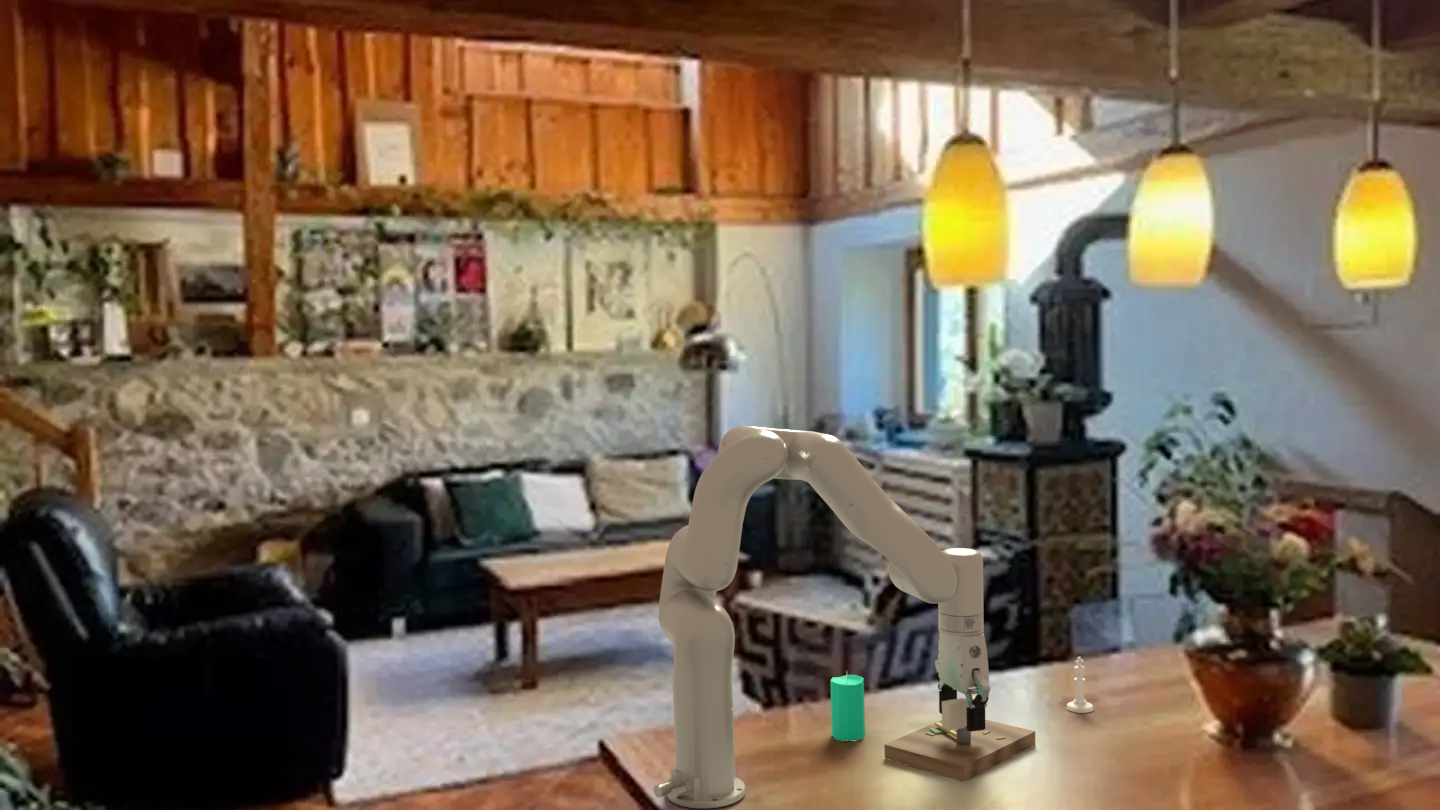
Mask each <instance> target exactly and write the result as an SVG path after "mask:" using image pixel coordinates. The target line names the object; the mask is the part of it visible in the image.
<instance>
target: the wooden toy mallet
mask: <svg viewBox="0 0 1440 810" xmlns="http://www.w3.org/2000/svg"><path fill="white" fill-rule="evenodd" d="M975 697H976V695H972V698H973V700H974V698H975ZM966 707H969V705H968V702H967V699H966V697H961V698H957V699H953V700H947V701H942V714H941V720H942V724H941V723H939V722H938V721H935V722H936V723H935V722H934V723H935V726H937V727H939V728H941V729H942V730H944V731H946V732H948V733H949V734H951V735H953V736H955V737H957V743H959V744H969V743H971V732H969V731H968V730H967V708H966ZM955 729H956V732H955V731H954V730H955Z"/></svg>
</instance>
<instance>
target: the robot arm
mask: <svg viewBox="0 0 1440 810" xmlns="http://www.w3.org/2000/svg"><path fill="white" fill-rule="evenodd" d="M718 444H719V445H718V453H717V455H716V456H715V457H714V458H712V460H711V461H710V462H709V464H708V465H706V467H705V468H704V470H703V471H702V472H701V475H700V476H699V479H698V481H697V483H696V487H695V490H694V494H693V499H692V505H691V510H690V513H689V514H690V515H689V520H688V525H684V526H683V527H681V528H680V529H679V530H678V531H677V532H676V533H675V534H674V535H673V536H672V538H671V540H670V542H669V544H668V547H667V550H666V553H665V558H664V559H665V560H664V566H663V573H662V580H661V588H660V594H659V603H658V604H659V605H658V615H657V617H658V623H659V627H660V629H661V631H662V633H663V635H664V636H665V637H666V638H667V639H668V641H669V642H670V643H671V644H672V645H673V648H674V649H673V651H674V653H673V654H674V656H673V669H672V701H673V728H674V756H675V759H674V760H675V769H673V770H671V771H670V778H668V780H667V781H666V782H665V781H664V782H661V783H658V784H656V785H654V786H653V793H654V796H655V797H656V798H657V799H659V798H663V797H665V796H666V797H667V799H668V800H669V801H670V802H672V803H673V804H676V805H678V806H680V807H684V808H689V809H700V810H702V809H716V808H721V807H726V806H727V807H728V806H730V805H732V804H735V803H738V801H741V800H742V799H743V798H744V796H745V795H746V784H745V782H744V780H742V779H740V778H738V777H736V760H735V759H736V757H735V756H736V755H735V730H734V729H735V724H734V696H733V695H734V694H733V692H734V691H733V663H734V653H735V642H736V638H735V637H736V635H735V628H734V624H733V621H732V619H731V616H730V615H729V613H728V612H727V611H726V609H725V608H724V607H722V605H720V604H719V603H718V602H717V601H716V598H717V597H716V596H717V592H718V591H721V590H724V589H725V588H726V587H728V586H730V584H731V583H732V581H733V580H734V578H735V575H736V573H737V569H738V564H739V556H740V555H739V554H740V548H741V539H742V532H743V523H744V519H745V516H746V509H747V506H748V503H749V501H750V499H751V497H752V495H753V494H754V493H755V492H756V491H757V489H758V488H760V487H761V486H763V485H764V484H765V483H767V482H770V481H771V480H773V479H774V480H775V479H779V480H795V481H797V480H798V481H804V482H806V483H808V484H809V485H810V486H811V487H812V489H814V491H815V492H816V493H817V494H818V495H819V496H820V497H821V499H822V500H823V501H824V502H825V503H826V504H827V506H828V507H829V508H830V509H831V510H832V511H833V513H834V514H835V515H836V516H837V519H839V520H840V522H842V524H843V525H844V527H846V529H848V530H849V531H850V533H852V534H853V535H854V536H856V538H858V539H859V540H861V541H862V542H864V543H865V544H867V545H868V546H870V547H872V548H873V549H874V550H876V551H877V552H879V554H881V555H882V556H883V557H885V558H886V560H888V561H889V565H888V576H889V579H890V582H892V584H893V585H894V586H895V587H896V588H897V589H899V590H900V591H902V592H904V593H905V594H908V595H910V596H913V597H915V598H917V599H919V600H921V601H924V602H925V603H928V604H937V605H938V606H937V607H938V608H937V609H938V610H937V611H938V613H937V615H938V617H937V618H938V631H939V634H938V635H939V637H938V649H937V650H938V651H937V659H935V660H934V666H935V670H936V675H935V676H936V678H937V682H938V684H937V689H938V708H939V709H938V710H939V713H940V715H942V701H947V700H953V699H958V692H959V693H961V694H964V695H965V698H966V699H967V702H968V705H969V707H966V708H967V730H968V731H969V732H972V731H980V730H984V729H985V720H986V708H987V707H988V706H987V705H988V703H987V702H989V695H990V691H991V685H990V680H989V679H990V676H989V675H990V674H989V673H990V671H989V660H988V659H989V658H988V649H987V644H986V643H987V642H986V637H985V634H984V631H985V630H984V621H985V620H984V613H985V611H984V610H985V609H984V560H983V558H984V557H983V556H982V553H980V551H978V550H977V549H976V550H975V549H972V548H968V547H967V548H966V547H965V548H964V547H952V548H946V549H944V550H941V549H940V547H939V546H938V545H937V543H935V541H934V539H932V538H931V537H930V536H929V534H927V533H926V531H925V530H924V529H923V528H921V527H920V526H919V525H918V523H917V522H915V521H914V520H913V519H912V518H911V517H910V516H909V515H908V514H906V512H905V511H904V510H903V509H902V508H901V507H900V506H899V505H898V504H897V503H895V502H894V501H893V499H892V498H890V497H889V496H888V494H887V493H886V492H885V491H884V490H883V488H881V486H880V485H879V484H878V482H877V481H875V479H874V478H873V477H872V476H871V474H870V473H869V472H868V470H866V468H865V467H864V466H863V465H862V464H861V462H860V461H859V460H858V458H856V456H855V455H854V454H853V453H852V451H851V450H850V449H849V448H848V447H847V445H845V443H844V442H843V441H841V440H840V439H839V438H837V437H836V436H834V435H831V434H829V433H828V434H827V433H822V432H817V431H810V430H794V429H792V430H791V429H781V428H780V429H779V428H773V427H772V428H771V427H760V426H752V425H739V426H736V427H734V428H731V429H729V430H727V432H726V433H724V434H723V436H722V438H721V439H720V442H719V443H718ZM973 695H975V696H976V697H975V698H974V700H973V698H972V696H973Z"/></svg>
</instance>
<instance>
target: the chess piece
mask: <svg viewBox="0 0 1440 810" xmlns="http://www.w3.org/2000/svg"><path fill="white" fill-rule="evenodd" d="M1084 661H1085V660H1084V659H1082V656H1077V660H1074V663H1075V664H1077V665H1075V666H1073V669H1074V672H1075V673H1074V674H1075V676H1076V677H1074V678H1073V681H1074V682H1076V690H1075V697H1074V699H1073V701H1069V702H1067V704H1066V710H1067V711H1069V712H1072V713H1078V714H1088V713H1091V712H1093V711H1094V705H1093V704H1092V703H1090V702H1088V701H1087V700H1086V699H1085V695H1084V687H1083V683H1084V682H1086V679H1085V678H1084V677H1083V676H1084V673H1085V670H1086V667H1085V666H1083V665H1082V664H1083V663H1084Z"/></svg>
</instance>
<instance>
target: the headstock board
mask: <svg viewBox="0 0 1440 810" xmlns="http://www.w3.org/2000/svg"><path fill="white" fill-rule="evenodd" d="M936 722H939V723H941V724H942V719H939V720H938V721H935V722H934V723H933V722H932V723H931V724H929V725H927V726H924V727H922V728H920V729H917V730H915V731H913V732H910V733H908V734H906V735H903V736H901V737H898V738H896V739H893V740H892V741H890V742H887V743H885V744H884V746H883V747H884V759H885V758H886V759H885V760H887V759H890V760H889V761H891V760H893V761H892V762H894V761H897V762H896V763H898V762H900V763H899V764H901V763H902V765H905V764H907V765H906V766H908V765H909V766H908V767H912V768H916V769H920V770H923V771H925V772H930V773H933V774H936V775H937V774H938V775H940V776H944V777H948V778H951V779H955V780H958V781H962V782H965V781H967V780H969V779H972V778H973V777H976V776H978V775H980V774H982V773H984V772H985V771H988V770H989V769H991V768H994V767H996V766H998V765H1000V764H1001V763H1003V762H1005V761H1007V760H1009V759H1011V758H1014V757H1016V756H1017V755H1019V754H1021V753H1023V752H1026V751H1027V750H1029V749H1031V748H1034V747H1035V746H1036V731H1035V730H1030V729H1027V728H1024V727H1023V728H1022V727H1019V726H1013V725H1011V724H1010V725H1009V724H1006V723H1002V722H1001V723H1000V722H998V721H993V720H988V719H985V729H984V730H980V731H972V732H971V743H969V744H959V743H957V737H955V736H953V735H951V734H949V733H948V732H946V731H944V730H942V729H941V728H939V727H937V726H935V723H936ZM954 731H955V732H956V729H955V730H954Z"/></svg>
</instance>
